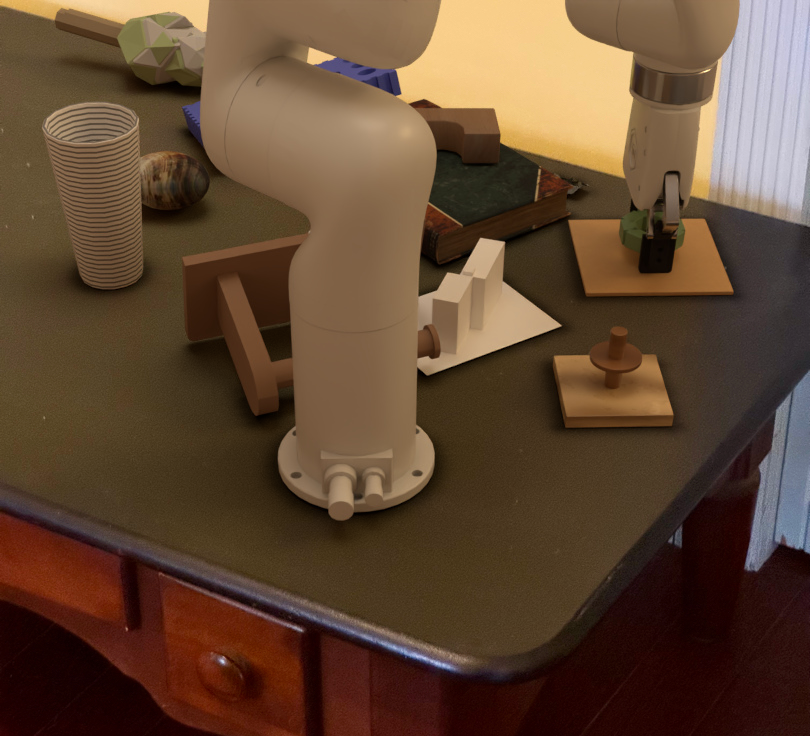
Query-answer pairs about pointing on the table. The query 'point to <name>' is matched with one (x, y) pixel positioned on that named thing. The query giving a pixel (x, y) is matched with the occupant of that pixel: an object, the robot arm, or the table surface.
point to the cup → (99, 188)
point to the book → (487, 200)
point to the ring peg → (612, 386)
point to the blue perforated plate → (368, 75)
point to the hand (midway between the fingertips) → (648, 252)
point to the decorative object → (146, 43)
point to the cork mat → (618, 265)
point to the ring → (642, 229)
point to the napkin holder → (478, 311)
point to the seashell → (172, 180)
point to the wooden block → (465, 132)
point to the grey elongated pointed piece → (573, 184)
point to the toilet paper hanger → (253, 311)
